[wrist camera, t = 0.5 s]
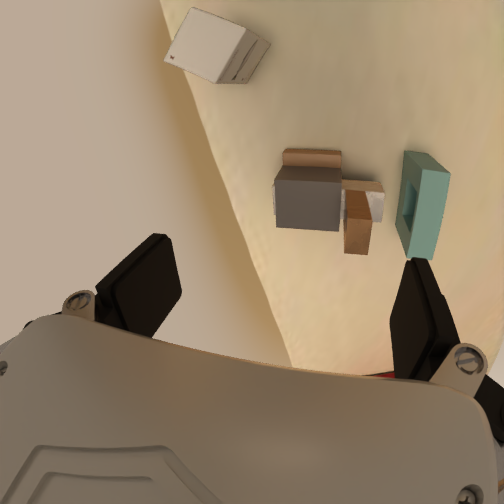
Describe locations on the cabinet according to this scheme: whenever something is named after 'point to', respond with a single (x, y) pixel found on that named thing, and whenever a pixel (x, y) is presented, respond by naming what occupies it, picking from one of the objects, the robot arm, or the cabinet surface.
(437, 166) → the socket
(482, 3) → the cabinet surface
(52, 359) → the robot arm
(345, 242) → the multicoloured piece
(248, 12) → the cabinet surface
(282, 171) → the grey block with backplate
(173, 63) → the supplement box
